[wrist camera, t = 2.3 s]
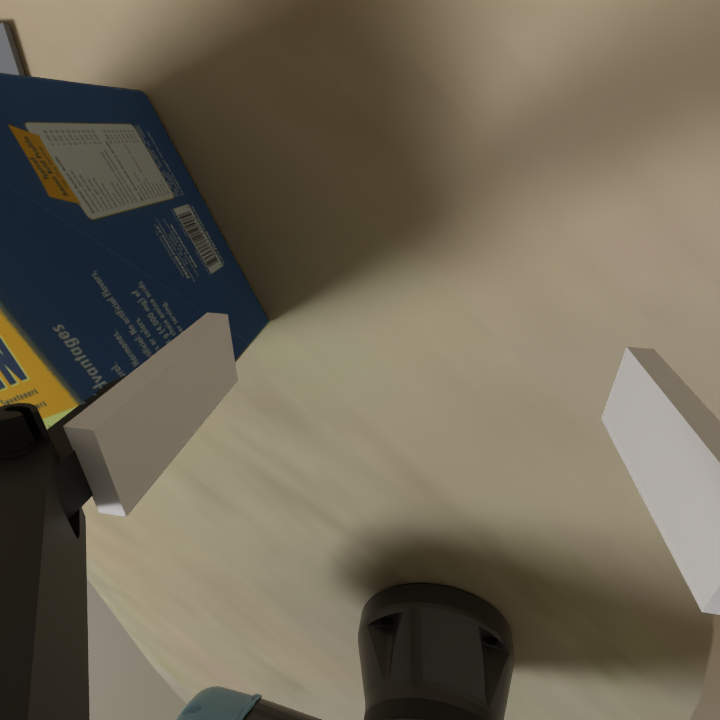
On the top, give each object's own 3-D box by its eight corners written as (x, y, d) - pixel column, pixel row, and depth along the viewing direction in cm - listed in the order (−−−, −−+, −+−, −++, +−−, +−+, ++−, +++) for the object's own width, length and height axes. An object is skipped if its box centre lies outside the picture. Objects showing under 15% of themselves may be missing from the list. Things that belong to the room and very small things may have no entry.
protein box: (160, 364, 33) (-27, 528, 20) (20, 163, 27) (-389, 200, 14) (274, 323, 30) (144, 485, 16) (144, 84, 24) (-232, 28, 10)
